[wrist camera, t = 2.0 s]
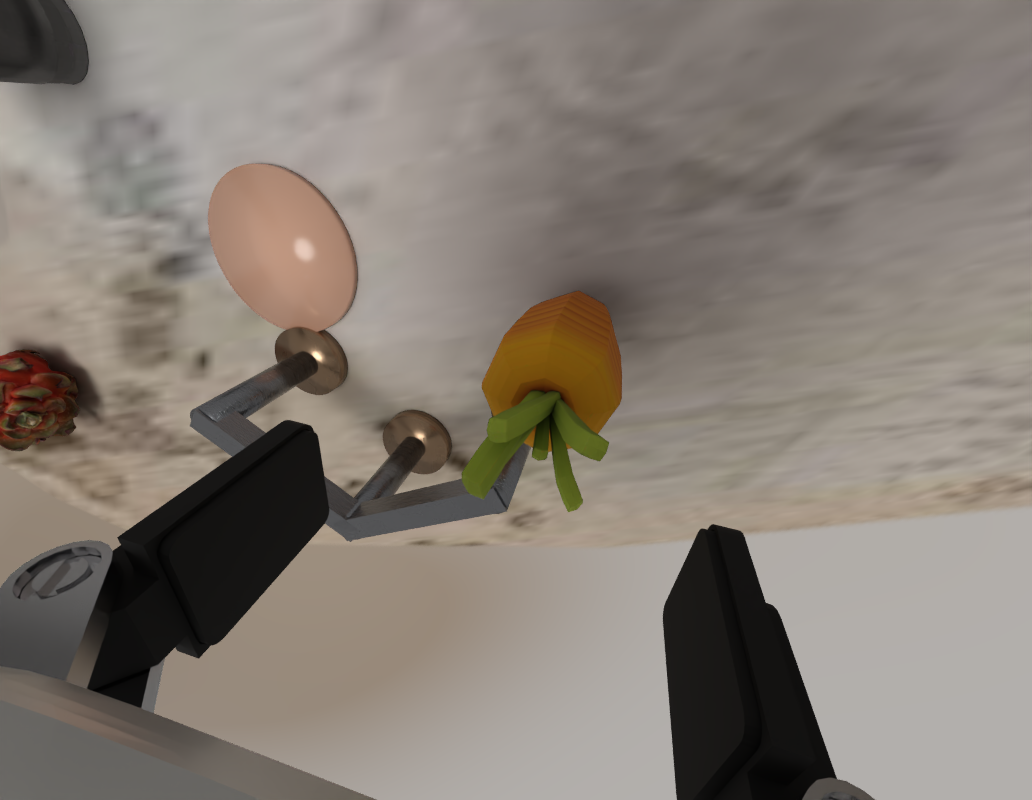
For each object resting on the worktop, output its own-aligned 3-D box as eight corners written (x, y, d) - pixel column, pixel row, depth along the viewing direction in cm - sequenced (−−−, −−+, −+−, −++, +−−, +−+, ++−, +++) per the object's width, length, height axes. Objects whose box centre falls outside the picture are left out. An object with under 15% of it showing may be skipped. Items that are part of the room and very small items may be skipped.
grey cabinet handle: (576, 380, 25) (549, 474, 18) (552, 499, 30) (523, 612, 23) (279, 317, 29) (146, 373, 21) (302, 434, 34) (202, 513, 26)
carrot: (635, 266, 21) (632, 410, 9) (620, 354, 24) (600, 566, 11) (541, 258, 22) (416, 376, 10) (536, 343, 25) (430, 527, 12)
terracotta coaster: (348, 175, 23) (341, 175, 22) (364, 342, 28) (358, 345, 27) (197, 154, 24) (188, 154, 24) (238, 315, 30) (231, 318, 29)
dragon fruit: (127, 374, 38) (73, 378, 44) (-4, 322, 31) (-49, 334, 37) (73, 463, 35) (22, 456, 40) (-86, 426, 28) (-122, 423, 33)
